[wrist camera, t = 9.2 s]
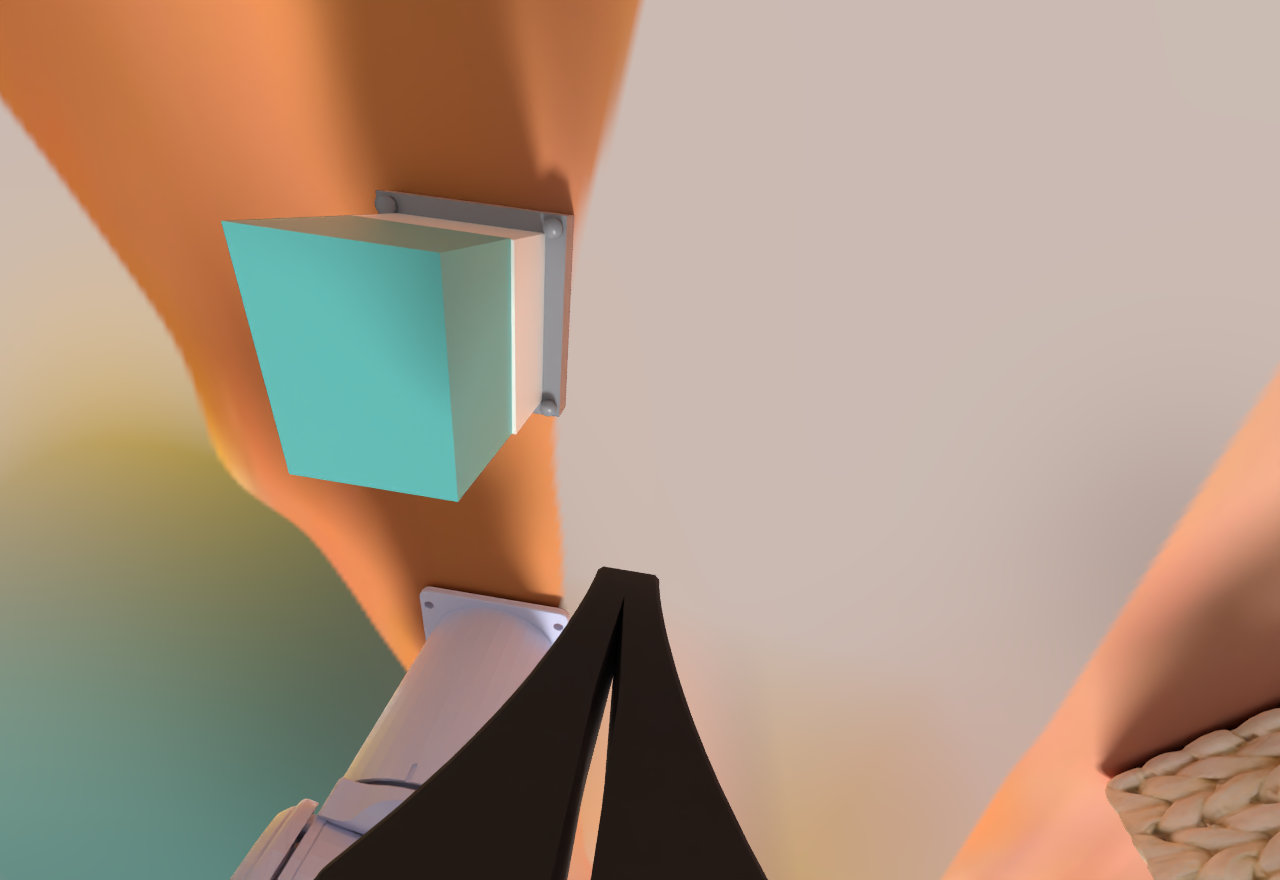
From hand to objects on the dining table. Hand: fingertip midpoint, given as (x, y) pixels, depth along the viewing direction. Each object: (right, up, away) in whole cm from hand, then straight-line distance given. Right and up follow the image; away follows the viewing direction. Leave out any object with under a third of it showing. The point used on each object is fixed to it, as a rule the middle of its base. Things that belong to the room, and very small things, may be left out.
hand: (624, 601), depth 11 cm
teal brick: (-6, +7, +3) cm, 10 cm away
